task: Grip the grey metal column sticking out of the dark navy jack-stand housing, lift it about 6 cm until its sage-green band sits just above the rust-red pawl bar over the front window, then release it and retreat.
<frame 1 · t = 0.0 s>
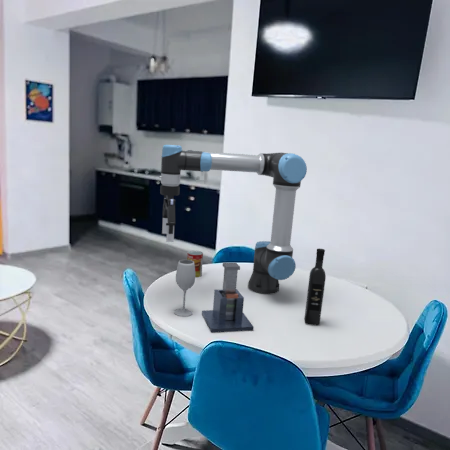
hand: (167, 237, 162), 28 cm above the table, fingers open, 13 cm apart
column: (229, 291, 152), point 12 cm above the table, slide at 0.0 cm
canned food: (193, 275, 205), on the table
stand: (226, 322, 154), on the table
wine bottle: (311, 322, 160), on the table
wineglass: (183, 313, 159), on the table
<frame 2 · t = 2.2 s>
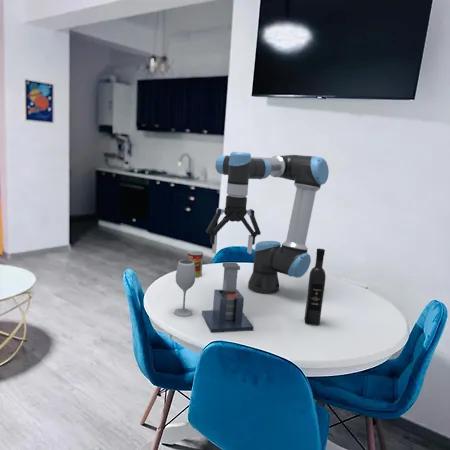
hand: (231, 252, 148), 27 cm above the table, fingers open, 13 cm apart
nothing on the table moved.
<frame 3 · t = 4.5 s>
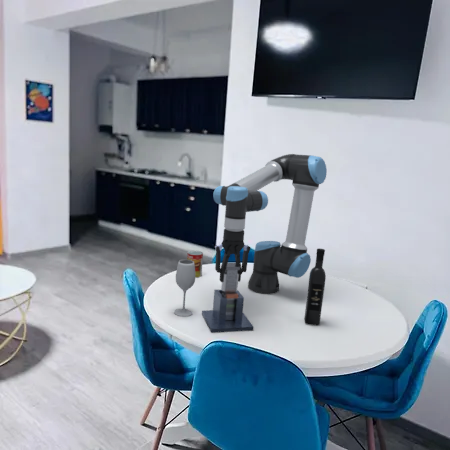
hand: (229, 289, 151), 13 cm above the table, fingers closed on column, 4 cm apart
column: (229, 291, 152), point 12 cm above the table, slide at 0.0 cm, touching gripper
everything else where it was.
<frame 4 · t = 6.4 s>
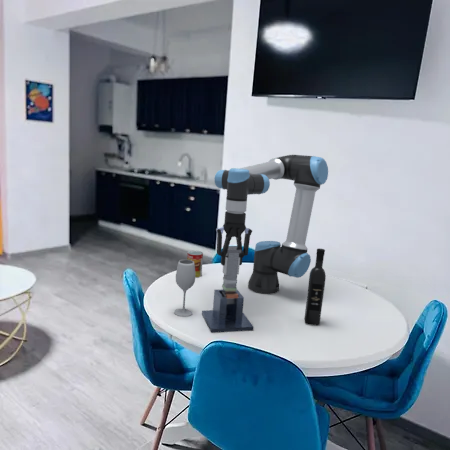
hand: (230, 273, 150), 20 cm above the table, fingers closed on column, 4 cm apart
column: (230, 275, 150), point 19 cm above the table, slide at 6.4 cm, touching gripper
everything else where it was.
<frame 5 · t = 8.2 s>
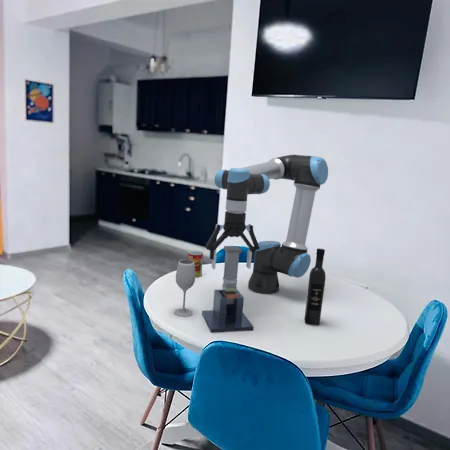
hand: (231, 267, 150), 22 cm above the table, fingers open, 13 cm apart
column: (230, 275, 150), point 19 cm above the table, slide at 6.5 cm
everything else where it was.
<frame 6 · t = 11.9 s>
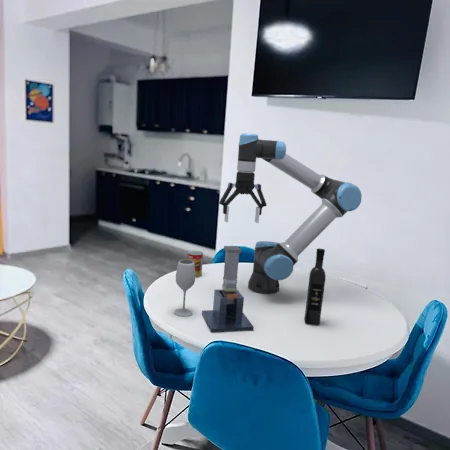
hand: (241, 222, 171), 35 cm above the table, fingers open, 13 cm apart
nothing on the table moved.
at the end: column slide at 6.5 cm; the gripper is holding nothing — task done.
